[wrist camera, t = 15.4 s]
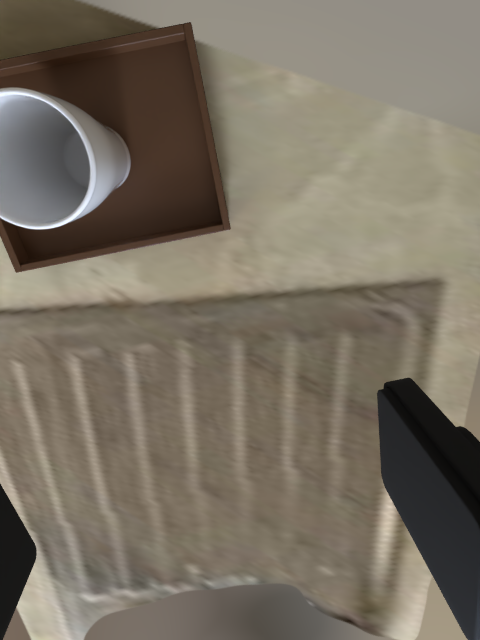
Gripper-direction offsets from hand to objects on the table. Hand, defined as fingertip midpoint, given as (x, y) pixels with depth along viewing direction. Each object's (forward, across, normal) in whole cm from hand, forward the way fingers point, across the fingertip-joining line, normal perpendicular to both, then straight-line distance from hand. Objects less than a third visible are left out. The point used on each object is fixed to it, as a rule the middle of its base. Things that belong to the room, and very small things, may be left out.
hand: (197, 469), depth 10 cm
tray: (+30, +7, -8) cm, 32 cm away
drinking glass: (+30, +7, -8) cm, 32 cm away
